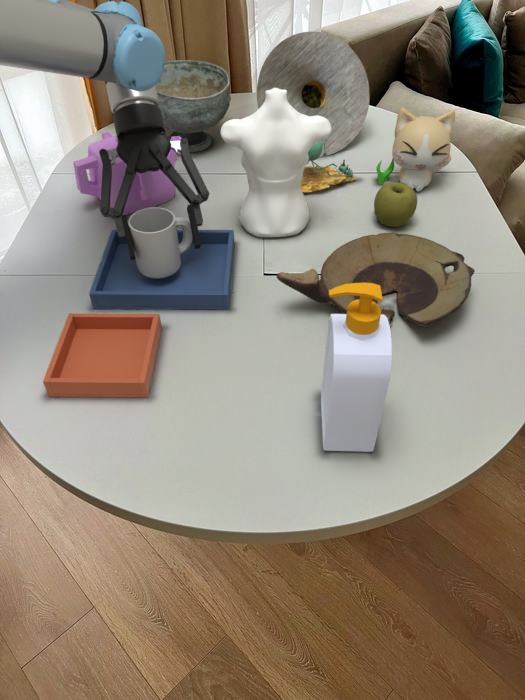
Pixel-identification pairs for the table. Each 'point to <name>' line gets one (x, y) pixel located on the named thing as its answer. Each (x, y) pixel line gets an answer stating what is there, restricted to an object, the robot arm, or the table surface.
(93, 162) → the teakettle
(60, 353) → the terracotta tray
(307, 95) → the disc
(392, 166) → the kitten
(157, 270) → the cup
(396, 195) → the apple
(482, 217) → the table surface
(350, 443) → the soap bottle
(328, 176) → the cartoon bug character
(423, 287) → the pottery shard
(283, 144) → the torso sculpture
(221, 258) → the blue tray
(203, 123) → the bowl
